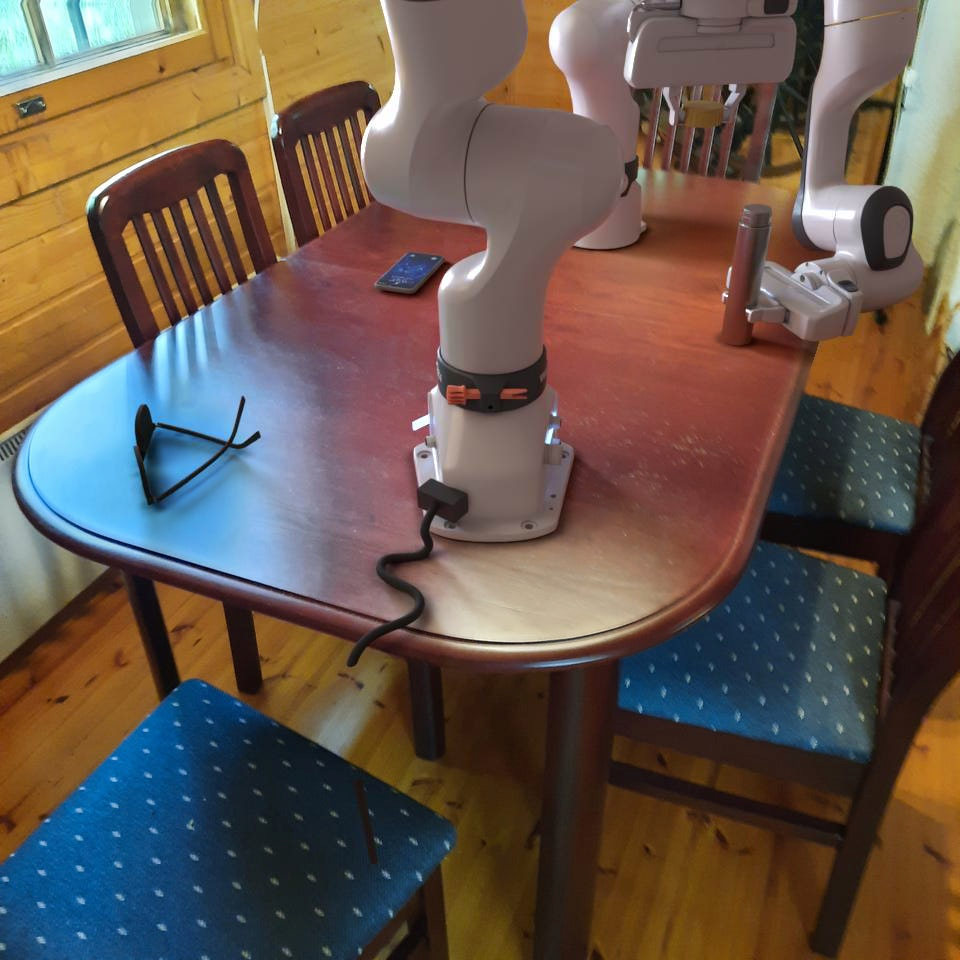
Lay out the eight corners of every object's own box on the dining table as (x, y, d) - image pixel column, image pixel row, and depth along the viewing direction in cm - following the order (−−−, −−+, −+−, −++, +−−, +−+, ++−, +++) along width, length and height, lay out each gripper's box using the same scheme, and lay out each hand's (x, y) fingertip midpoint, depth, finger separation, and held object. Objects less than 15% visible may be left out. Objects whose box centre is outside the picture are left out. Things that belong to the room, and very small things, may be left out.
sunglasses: (270, 486, 97) (262, 449, 94) (137, 510, 94) (125, 474, 91) (257, 411, 110) (250, 377, 107) (140, 430, 107) (130, 396, 104)
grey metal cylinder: (715, 340, 123) (736, 209, 111) (727, 329, 125) (749, 200, 114) (743, 348, 121) (767, 215, 109) (755, 337, 123) (779, 206, 112)
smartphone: (447, 255, 148) (413, 290, 136) (447, 261, 148) (413, 296, 137) (407, 250, 150) (371, 284, 138) (407, 255, 150) (371, 290, 139)
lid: (712, 130, 104) (714, 111, 103) (672, 124, 106) (675, 106, 105) (727, 121, 107) (730, 102, 106) (689, 116, 110) (691, 98, 109)
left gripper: (638, 3, 95) (627, 133, 103) (811, -3, 97) (788, 125, 106) (622, -4, 100) (613, 121, 108) (787, -9, 103) (766, 113, 111)
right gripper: (778, 245, 129) (699, 259, 126) (872, 298, 114) (784, 316, 110) (771, 284, 133) (693, 299, 130) (860, 341, 118) (775, 359, 114)
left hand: (700, 123), depth 107 cm, fingers closed on lid, 5 cm apart
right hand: (735, 307), depth 120 cm, fingers closed on grey metal cylinder, 4 cm apart
